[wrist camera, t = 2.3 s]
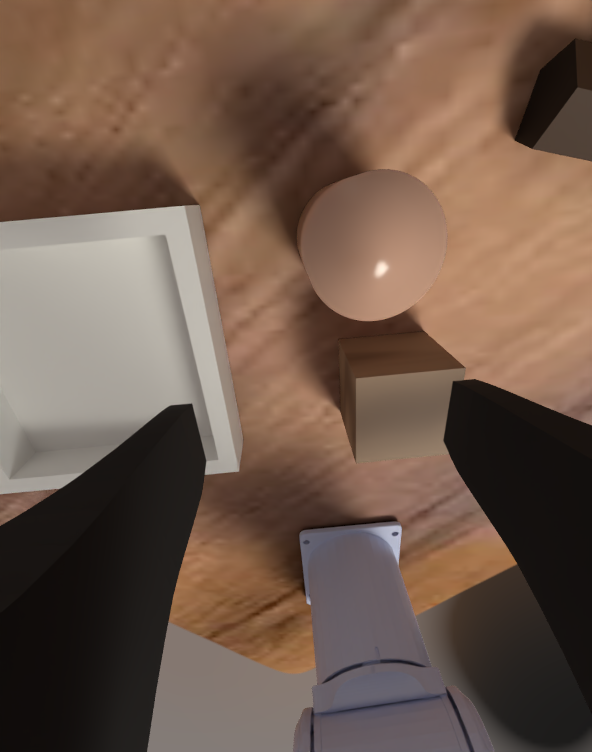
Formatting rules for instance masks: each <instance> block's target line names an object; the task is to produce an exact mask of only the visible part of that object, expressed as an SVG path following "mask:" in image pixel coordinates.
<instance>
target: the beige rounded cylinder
mask: <svg viewBox="0 0 592 752" xmlns="http://www.w3.org/2000/svg"><path fill="white" fill-rule="evenodd" d="M447 239H448V234H447V224H446V219H445V215H444V212H443V209H442V207H441V205H440V203H439V201H438V199H437V198H436V196H435V195H434V193H433V192H432V191H431V190H430V189H429V188H428V187H427V186H426V185H425V184H424V183H423V182H421V181H420V180H419V179H417V178H415V177H413V176H411V175H409V174H407V173H404V172H401V171H396V170H390V169H379V170H372V171H367V172H364V173H361V174H358V175H355V176H352V177H349V178H346V179H343V180H340V181H337V182H334V183H331V184H329V185H327V186H325V187H324V188H322V189H321V190H319V191H318V192H317V193H316V194H315V195H314V196H313V197H312V198H311V199H310V200H309V201H308V203H307V204H306V206H305V208H304V210H303V212H302V214H301V216H300V219H299V223H298V227H297V246H298V251H299V255H300V257H301V259H302V262H303V264H304V267H305V269H306V272H307V274H308V277H309V279H310V282H311V284H312V286H313V288H314V290H315V292H316V293H317V295H318V296H319V297H320V299H321V300H322V301H323V302H324V303H325V304H326V305H327V306H328V307H329V308H331V309H332V310H333V311H335V312H337V313H338V314H340V315H342V316H345V317H347V318H350V319H354V320H360V321H377V320H383V319H387V318H390V317H393V316H395V315H398V314H400V313H402V312H404V311H405V310H407V309H409V308H410V307H411V306H413V305H414V304H416V303H417V302H418V301H419V300H420V299H421V298H422V297H423V296H424V295H425V294H426V293H427V292H428V290H429V289H430V288H431V286H432V285H433V283H434V282H435V280H436V278H437V276H438V275H439V272H440V270H441V268H442V265H443V262H444V259H445V255H446V249H447Z"/></svg>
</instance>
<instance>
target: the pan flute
mask: <svg viewBox="0 0 592 752" xmlns="http://www.w3.org/2000/svg"><path fill="white" fill-rule="evenodd" d="M515 141H517V142H519V143H521V144H523V145H525V146H527V147H529V148H532V149H535V150H540V151H545V152H550V153H555V154H559V155H564V156H569V157H574V158H579V159H583V160H588V161H592V43H591V42H587V41H583V40H579V39H574V40H573V41H572V42H571V43H570V44H569V45H568V46H567V47H565V48H564V49H563V50H562V51H561V52H560V53H559V54H558V55H557V56H555V57H554V58H553V59H552V60H551V61H550V62H549V63H548V64H547V65H545V66H544V67H543V68H542V69H541V70H540V73H539V75H538V78H537V81H536V84H535V86H534V89H533V92H532V95H531V97H530V100H529V103H528V105H527V108H526V111H525V114H524V116H523V119H522V122H521V124H520V127H519V130H518V133H517V135H516V138H515Z"/></svg>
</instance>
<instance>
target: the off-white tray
mask: <svg viewBox="0 0 592 752" xmlns="http://www.w3.org/2000/svg"><path fill="white" fill-rule="evenodd" d="M191 403H192V405H193V409H194V413H195V417H196V421H197V425H198V429H199V433H200V437H201V441H202V445H203V449H204V453H205V457H206V469H205V475H208V474H218V473H229V472H239V468H240V461H241V454H242V447H243V434H242V429H241V424H240V418H239V413H238V407H237V402H236V397H235V391H234V386H233V381H232V375H231V370H230V365H229V359H228V354H227V349H226V343H225V338H224V332H223V327H222V322H221V316H220V311H219V306H218V300H217V295H216V290H215V284H214V279H213V274H212V268H211V263H210V257H209V252H208V247H207V241H206V236H205V231H204V225H203V220H202V215H201V209H200V205H188V206H175V207H164V208H153V209H142V210H130V211H119V212H108V213H97V214H86V215H74V216H63V217H52V218H41V219H30V220H18V221H7V222H0V494H7V493H17V492H28V491H39V490H49V489H60V488H62V487H64V486H65V485H67V484H68V483H70V482H71V481H73V480H74V479H75V478H77V477H78V476H80V475H81V474H82V473H84V472H85V471H86V470H88V469H89V468H90V467H92V466H93V465H94V464H96V463H97V462H98V461H100V460H101V459H102V458H104V457H105V456H106V455H108V454H109V453H110V452H112V451H113V450H114V449H116V448H117V447H118V446H119V445H121V444H122V443H123V442H124V441H125V440H127V439H128V438H129V437H130V436H132V435H133V434H134V433H135V432H137V431H138V430H139V429H140V428H141V427H143V426H144V425H145V424H146V423H148V422H149V421H150V420H151V419H152V418H154V417H155V416H156V415H157V414H159V413H160V412H161V411H163V410H164V409H165V408H167V407H168V406H170V405H180V404H191Z"/></svg>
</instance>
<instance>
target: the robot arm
mask: <svg viewBox="0 0 592 752" xmlns="http://www.w3.org/2000/svg"><path fill="white" fill-rule="evenodd" d="M443 441H444V443H445V446H446V448H447V450H448V452H449V454H450V457H451V459H452V461H453V463H454V465H455V467H456V469H457V471H458V473H459V474H460V476H461V477H462V479H463V481H464V482H465V484H466V485H467V487H468V488H469V490H470V491H471V493H472V494H473V496H474V497H475V499H476V500H477V502H478V503H479V505H480V507H481V508H482V510H483V511H484V513H485V514H486V516H487V517H488V519H489V520H490V522H491V523H492V525H493V526H494V528H495V529H496V531H497V532H498V534H499V535H500V537H501V538H502V540H503V541H504V543H505V544H506V546H507V547H508V549H509V551H510V552H511V554H512V556H513V557H514V559H515V561H516V562H517V564H518V566H519V568H520V569H521V571H522V573H523V575H524V577H525V579H526V581H527V583H528V585H529V586H530V588H531V590H532V592H533V594H534V596H535V598H536V600H537V601H538V603H539V605H540V607H541V609H542V611H543V613H544V615H545V617H546V619H547V621H548V623H549V625H550V627H551V629H552V631H553V633H554V635H555V637H556V639H557V641H558V643H559V645H560V647H561V649H562V651H563V653H564V655H565V657H566V660H567V662H568V664H569V666H570V668H571V670H572V672H573V675H574V677H575V679H576V681H577V683H578V685H579V688H580V690H581V692H582V694H583V696H584V698H585V700H586V703H587V705H588V707H589V709H590V711H591V713H592V425H589V424H586V423H584V422H581V421H579V420H576V419H574V418H571V417H569V416H566V415H563V414H561V413H559V412H556V411H554V410H551V409H549V408H546V407H544V406H542V405H539V404H537V403H535V402H532V401H530V400H527V399H525V398H523V397H520V396H518V395H516V394H513V393H511V392H508V391H506V390H504V389H501V388H498V387H496V386H493V385H491V384H488V383H485V382H482V381H479V380H476V379H472V380H460V381H453V383H452V389H451V396H450V402H449V408H448V414H447V420H446V426H445V433H444V439H443ZM205 469H206V457H205V453H204V449H203V445H202V441H201V437H200V433H199V429H198V425H197V421H196V417H195V413H194V409H193V405H192V403H191V404H180V405H170V406H168V407H167V408H165V409H164V410H163V411H161V412H160V413H159V414H157V415H156V416H155V417H154V418H152V419H151V420H150V421H149V422H148V423H146V424H145V425H144V426H143V427H141V428H140V429H139V430H138V431H137V432H135V433H134V434H133V435H132V436H130V437H129V438H128V439H127V440H125V441H124V442H123V443H122V444H121V445H119V446H118V447H117V448H116V449H114V450H113V451H112V452H110V453H109V454H108V455H106V456H105V457H104V458H102V459H101V460H100V461H98V462H97V463H96V464H94V465H93V466H92V467H90V468H89V469H88V470H86V471H85V472H84V473H82V474H81V475H80V476H78V477H77V478H75V479H74V480H73V481H71V482H70V483H68V484H67V485H65V486H64V487H62V488H61V489H59V490H58V491H56V492H55V493H53V494H52V495H50V496H49V497H47V498H46V499H44V500H43V501H41V502H39V503H38V504H36V505H35V506H33V507H32V508H30V509H28V510H27V511H25V512H24V513H22V514H20V515H19V516H17V517H15V518H13V519H12V520H10V521H8V522H6V523H5V524H3V525H1V526H0V752H147V747H148V741H149V734H150V728H151V721H152V715H153V708H154V701H155V694H156V688H157V683H158V677H159V671H160V665H161V660H162V654H163V648H164V642H165V637H166V631H167V626H168V621H169V616H170V610H171V605H172V600H173V595H174V591H175V587H176V583H177V579H178V575H179V571H180V568H181V564H182V561H183V557H184V554H185V551H186V547H187V544H188V540H189V537H190V533H191V530H192V527H193V523H194V520H195V516H196V513H197V509H198V506H199V502H200V498H201V495H202V489H203V483H204V476H205ZM401 531H402V527H401V524H400V523H399V522H397V521H393V522H383V523H372V524H362V525H351V526H341V527H330V528H320V529H310V530H303V531H301V532H300V534H299V537H300V547H301V556H302V565H303V574H304V582H305V591H306V600H307V603H308V604H309V605H311V614H312V626H313V638H314V651H315V663H316V674H317V685H315V686H313V687H312V693H313V707H314V708H312V707H311V708H305V709H304V710H303V712H302V715H301V717H300V719H299V721H298V723H297V725H296V728H295V733H294V745H293V752H495V751H494V748H493V746H492V743H491V741H490V738H489V736H488V734H487V731H486V729H485V727H484V724H483V722H482V720H481V718H480V716H479V714H478V713H477V710H476V708H475V707H474V705H473V704H472V702H471V701H470V700H469V699H468V698H467V697H466V696H465V695H464V694H462V693H461V692H460V690H459V689H458V688H457V687H456V686H449V687H445V686H444V683H443V680H442V678H441V674H440V672H439V669H438V667H432V666H431V663H430V660H429V657H428V654H427V651H426V648H425V645H424V642H423V638H422V635H421V633H420V630H419V626H418V623H417V620H416V617H415V614H414V611H413V608H412V605H411V602H410V599H409V596H408V593H407V590H406V587H405V584H404V581H403V578H402V575H401V572H400V569H399V566H398V564H399V553H400V542H401Z"/></svg>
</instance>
